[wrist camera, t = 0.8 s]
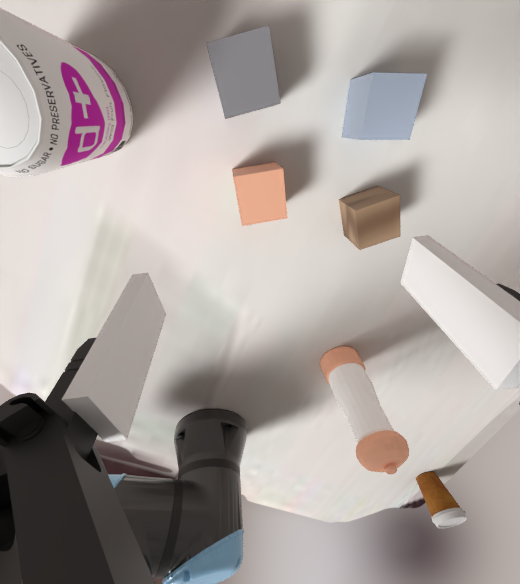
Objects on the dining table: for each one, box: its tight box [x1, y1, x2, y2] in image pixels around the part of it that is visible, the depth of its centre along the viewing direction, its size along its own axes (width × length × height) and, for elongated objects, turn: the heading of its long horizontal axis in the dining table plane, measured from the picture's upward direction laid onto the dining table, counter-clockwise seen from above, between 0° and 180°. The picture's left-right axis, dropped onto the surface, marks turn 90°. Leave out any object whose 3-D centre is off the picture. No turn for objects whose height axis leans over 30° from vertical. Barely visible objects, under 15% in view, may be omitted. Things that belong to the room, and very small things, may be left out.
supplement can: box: [0, 8, 133, 177], centre depth 19 cm, size 8×8×15 cm
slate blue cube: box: [342, 72, 427, 140], centre depth 26 cm, size 5×5×5 cm
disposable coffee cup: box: [416, 472, 467, 528], centre depth 81 cm, size 10×10×12 cm
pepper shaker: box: [320, 346, 409, 474], centre depth 42 cm, size 7×7×19 cm
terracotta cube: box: [232, 162, 287, 226], centre depth 29 cm, size 5×5×5 cm
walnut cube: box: [339, 186, 400, 250], centre depth 32 cm, size 5×5×5 cm
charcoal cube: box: [207, 25, 280, 119], centre depth 24 cm, size 5×5×5 cm
